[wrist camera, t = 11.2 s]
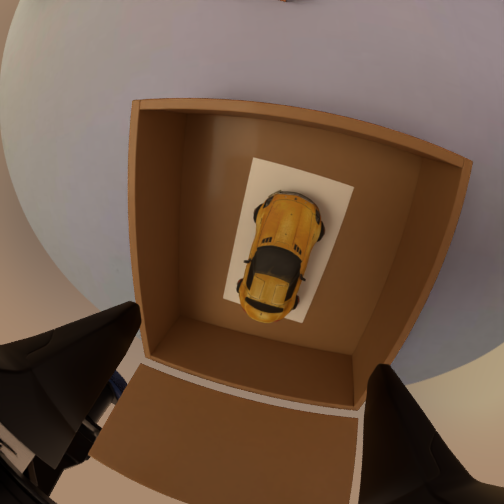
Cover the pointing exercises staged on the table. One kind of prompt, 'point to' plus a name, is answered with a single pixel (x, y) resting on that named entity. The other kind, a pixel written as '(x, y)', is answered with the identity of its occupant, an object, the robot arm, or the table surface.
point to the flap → (225, 446)
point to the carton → (338, 266)
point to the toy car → (283, 240)
